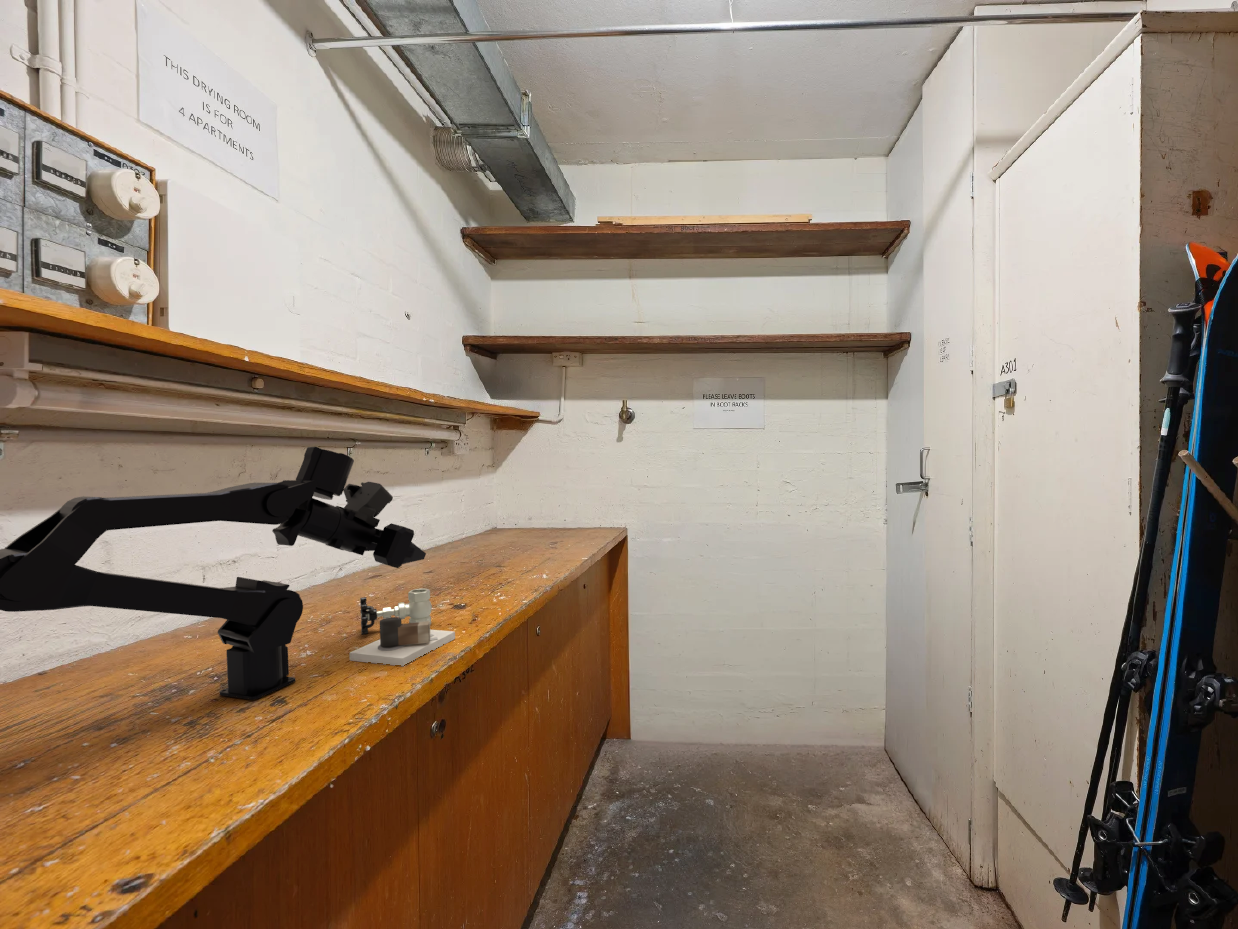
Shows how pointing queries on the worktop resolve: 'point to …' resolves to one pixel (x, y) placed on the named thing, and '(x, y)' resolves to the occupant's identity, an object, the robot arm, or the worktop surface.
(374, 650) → the dial board
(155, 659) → the worktop surface
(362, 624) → the valve
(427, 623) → the lever
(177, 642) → the worktop surface
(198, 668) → the worktop surface
